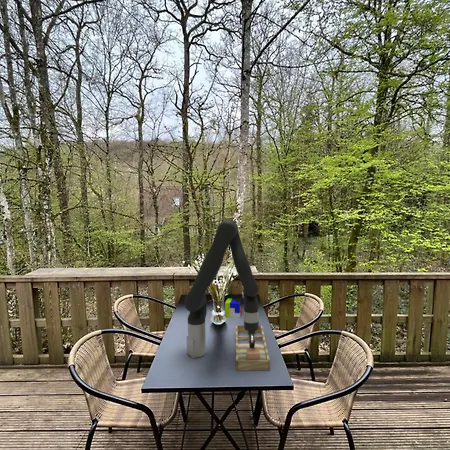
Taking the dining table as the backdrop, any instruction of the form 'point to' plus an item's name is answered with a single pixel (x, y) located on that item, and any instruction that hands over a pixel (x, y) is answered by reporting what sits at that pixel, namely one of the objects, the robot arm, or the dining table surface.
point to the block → (253, 354)
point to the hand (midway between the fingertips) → (251, 352)
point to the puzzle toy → (233, 308)
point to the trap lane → (242, 348)
